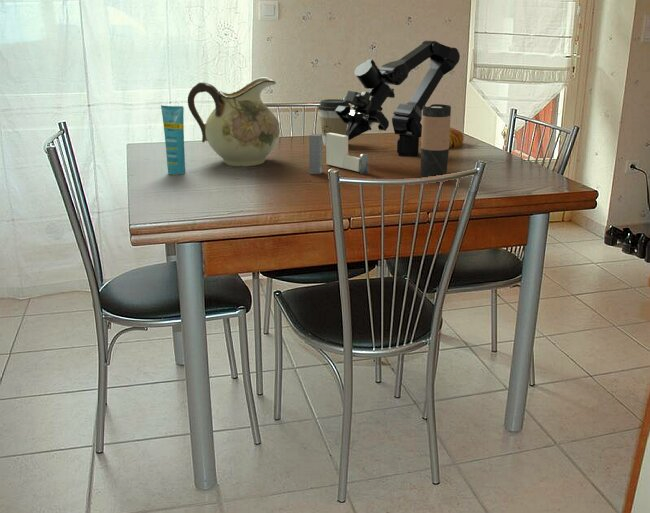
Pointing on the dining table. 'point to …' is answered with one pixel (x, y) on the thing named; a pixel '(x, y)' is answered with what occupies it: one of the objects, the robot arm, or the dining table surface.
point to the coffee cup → (331, 117)
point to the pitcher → (238, 123)
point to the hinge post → (364, 163)
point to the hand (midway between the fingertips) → (346, 139)
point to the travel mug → (435, 139)
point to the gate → (340, 152)
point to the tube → (174, 138)
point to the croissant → (455, 138)
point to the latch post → (315, 153)
